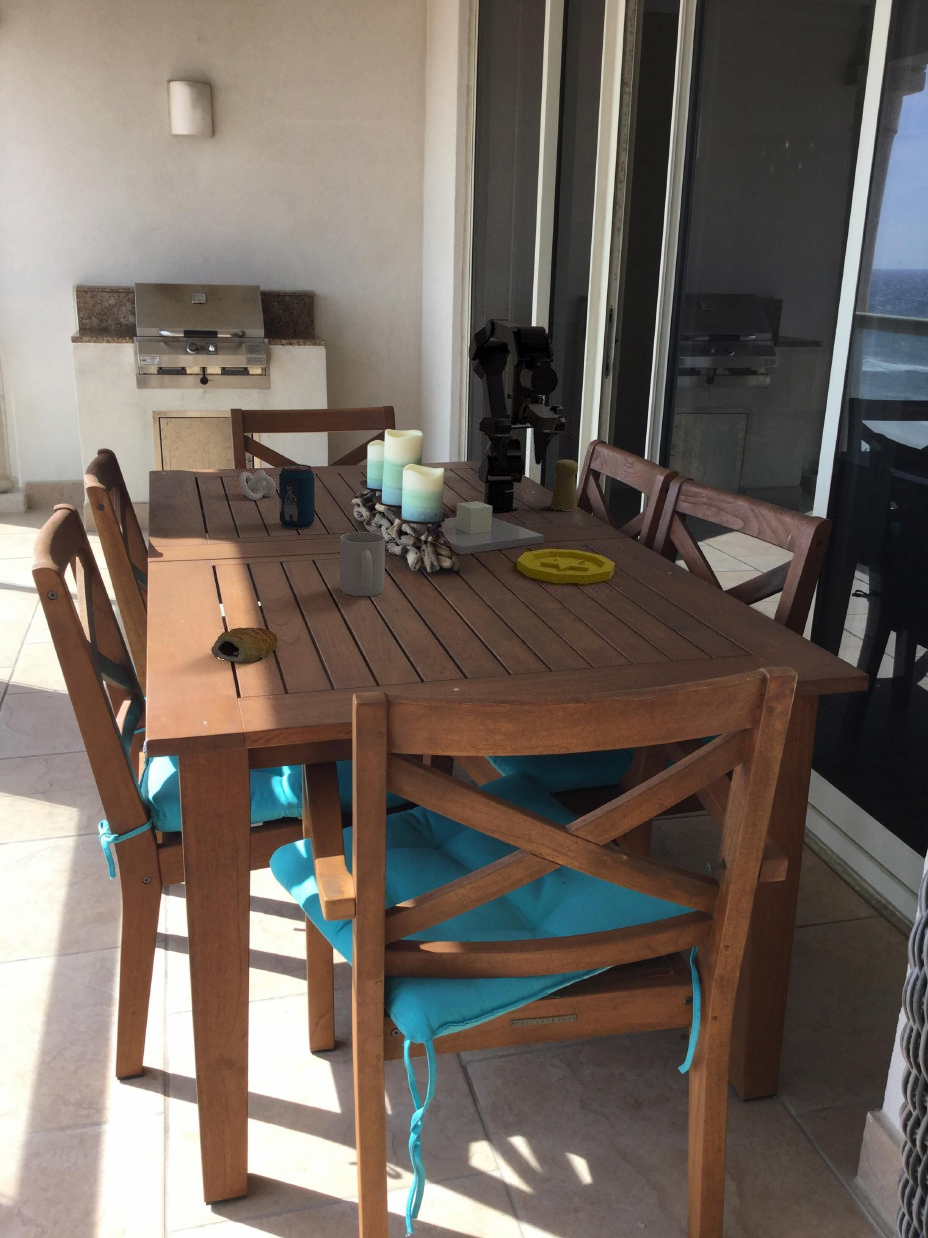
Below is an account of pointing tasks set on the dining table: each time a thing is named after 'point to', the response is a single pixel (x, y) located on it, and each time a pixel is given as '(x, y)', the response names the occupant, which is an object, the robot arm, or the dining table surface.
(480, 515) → the sage cube
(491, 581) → the dining table surface
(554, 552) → the decorative disc
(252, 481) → the knot
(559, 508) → the cork
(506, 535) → the grey tile
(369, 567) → the cup
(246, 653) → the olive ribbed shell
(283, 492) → the soda can
